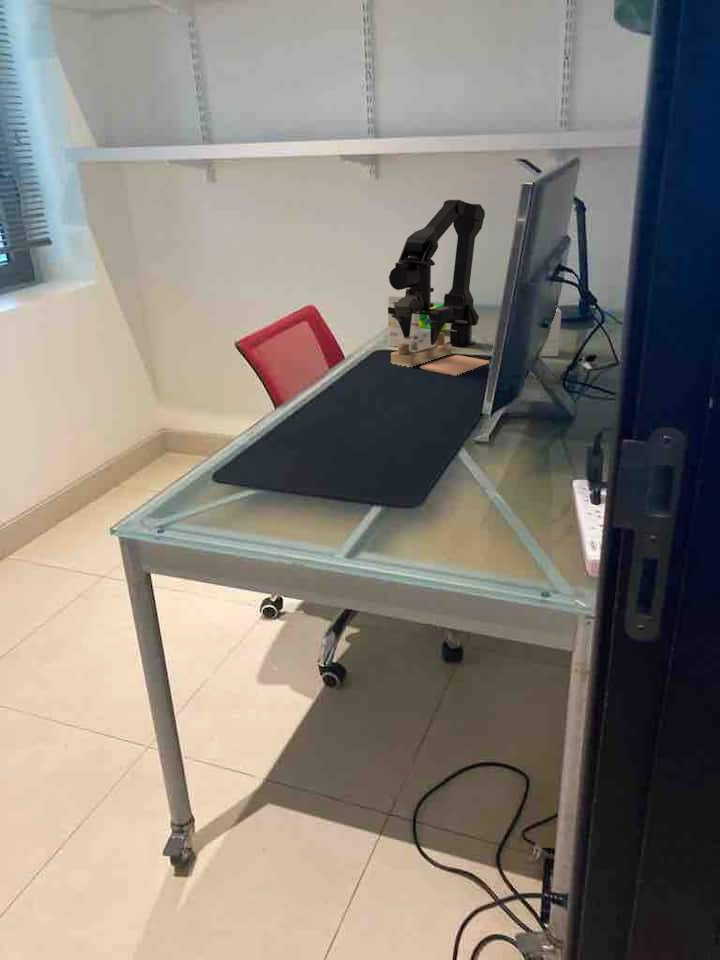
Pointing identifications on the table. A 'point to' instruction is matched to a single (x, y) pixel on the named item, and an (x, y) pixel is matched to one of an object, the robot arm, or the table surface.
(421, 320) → the molecule model
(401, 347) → the hand plane
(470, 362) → the rubber mat
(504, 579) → the table surface
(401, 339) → the ink cartridge box
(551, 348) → the supplement box
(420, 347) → the lever cap
